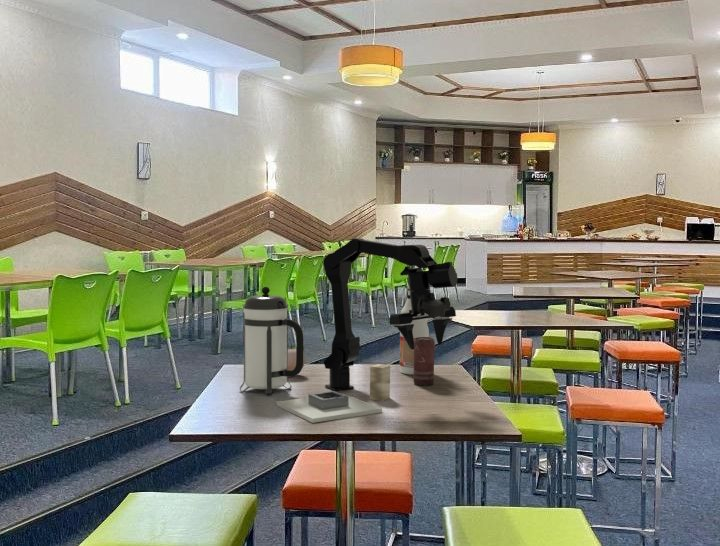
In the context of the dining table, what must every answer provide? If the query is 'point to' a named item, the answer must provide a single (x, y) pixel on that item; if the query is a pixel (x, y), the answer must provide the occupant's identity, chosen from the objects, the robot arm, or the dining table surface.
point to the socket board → (319, 415)
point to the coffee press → (268, 343)
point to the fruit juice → (418, 331)
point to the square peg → (380, 382)
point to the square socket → (328, 400)
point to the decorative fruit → (293, 358)
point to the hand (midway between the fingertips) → (426, 347)
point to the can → (424, 361)
